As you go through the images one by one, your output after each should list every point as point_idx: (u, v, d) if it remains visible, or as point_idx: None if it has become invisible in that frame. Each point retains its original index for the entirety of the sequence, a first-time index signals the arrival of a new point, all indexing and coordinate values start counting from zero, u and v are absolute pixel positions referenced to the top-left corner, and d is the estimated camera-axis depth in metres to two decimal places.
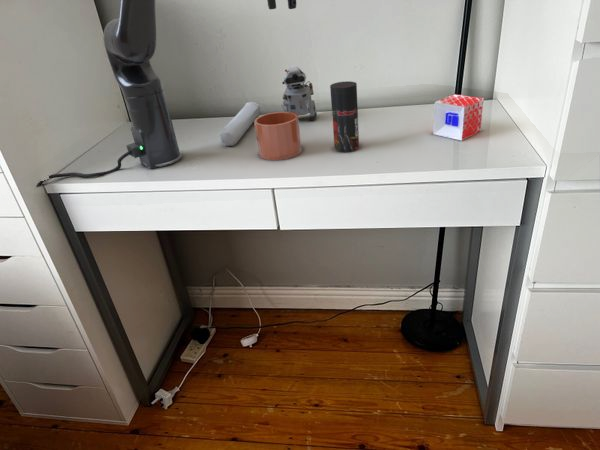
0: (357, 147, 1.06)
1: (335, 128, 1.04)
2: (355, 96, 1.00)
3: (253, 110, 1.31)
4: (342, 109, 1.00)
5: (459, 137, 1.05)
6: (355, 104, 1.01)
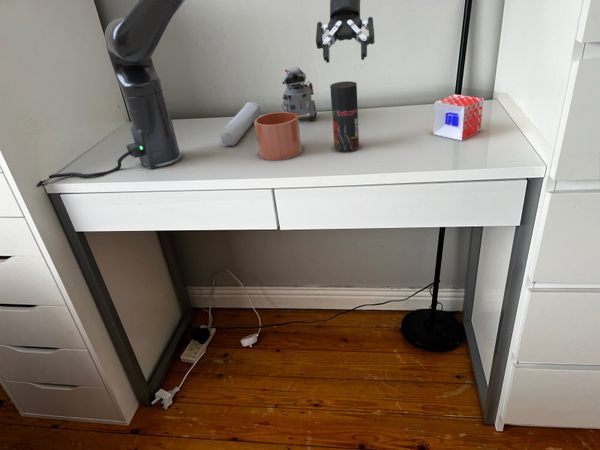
0: (357, 147, 1.06)
1: (335, 128, 1.04)
2: (355, 96, 1.00)
3: (253, 110, 1.31)
4: (342, 109, 1.00)
5: (459, 137, 1.05)
6: (355, 104, 1.01)
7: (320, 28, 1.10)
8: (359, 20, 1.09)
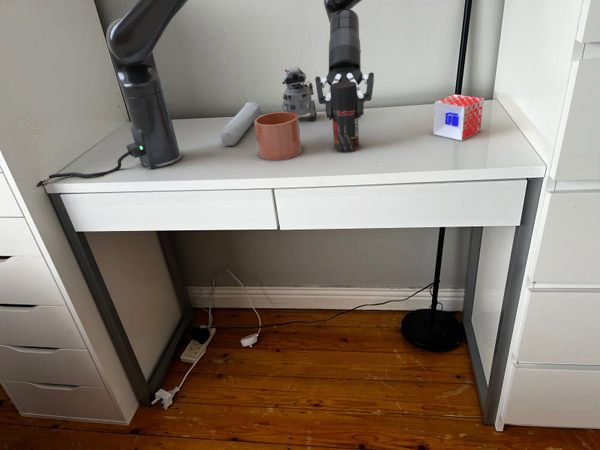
0: (357, 147, 1.06)
1: (335, 128, 1.04)
2: (355, 96, 1.00)
3: (253, 110, 1.31)
4: (342, 109, 1.00)
5: (459, 137, 1.05)
6: (355, 104, 1.01)
7: (319, 83, 1.04)
8: (359, 73, 1.03)
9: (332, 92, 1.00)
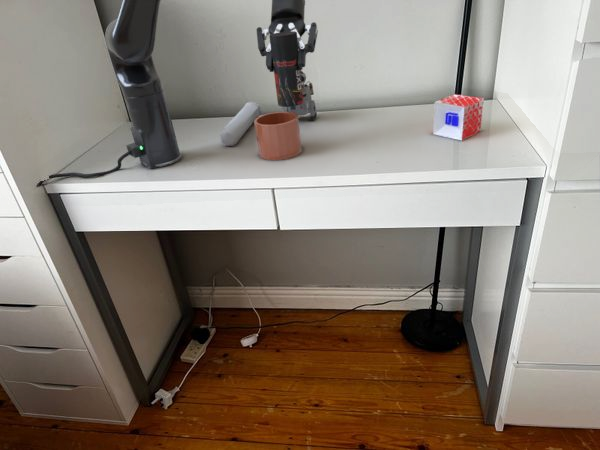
0: (300, 102, 1.02)
1: (276, 81, 1.00)
2: (295, 45, 0.96)
3: (253, 110, 1.31)
4: (281, 59, 0.96)
5: (459, 137, 1.05)
6: (295, 54, 0.97)
7: (261, 34, 1.00)
8: (302, 24, 0.99)
9: (271, 41, 0.96)
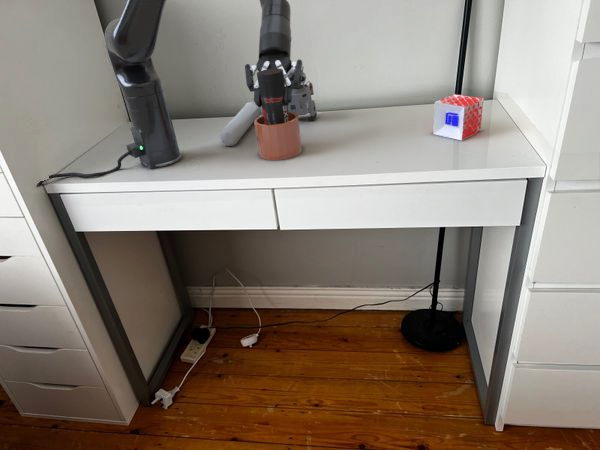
0: None
1: (264, 115, 1.04)
2: (281, 83, 1.00)
3: (253, 110, 1.31)
4: (269, 96, 1.01)
5: (459, 137, 1.05)
6: (282, 91, 1.01)
7: (249, 70, 1.05)
8: (288, 61, 1.03)
9: (258, 79, 1.00)
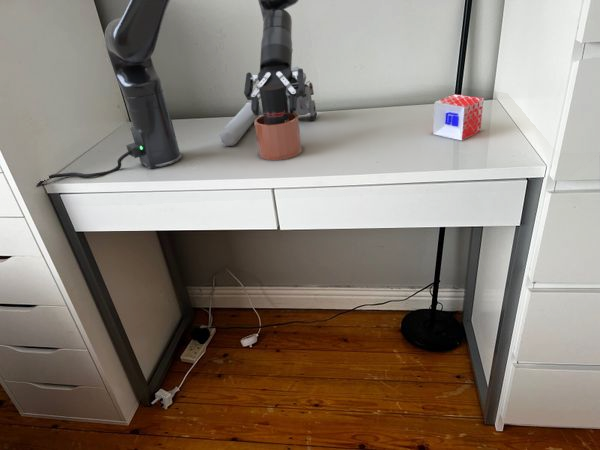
0: None
1: None
2: (283, 98, 1.02)
3: None
4: (271, 111, 1.02)
5: (459, 137, 1.05)
6: (284, 106, 1.03)
7: (249, 79, 1.06)
8: (289, 72, 1.05)
9: (261, 94, 1.02)
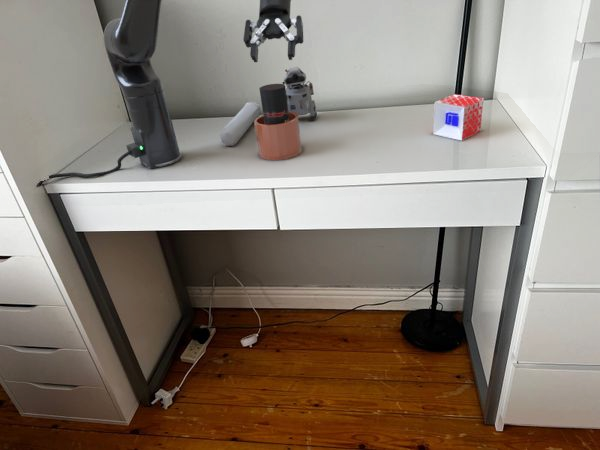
0: None
1: None
2: (283, 98, 1.02)
3: (253, 110, 1.31)
4: (271, 111, 1.02)
5: (459, 137, 1.05)
6: (284, 106, 1.03)
7: (248, 26, 1.08)
8: (287, 18, 1.07)
9: (261, 94, 1.02)
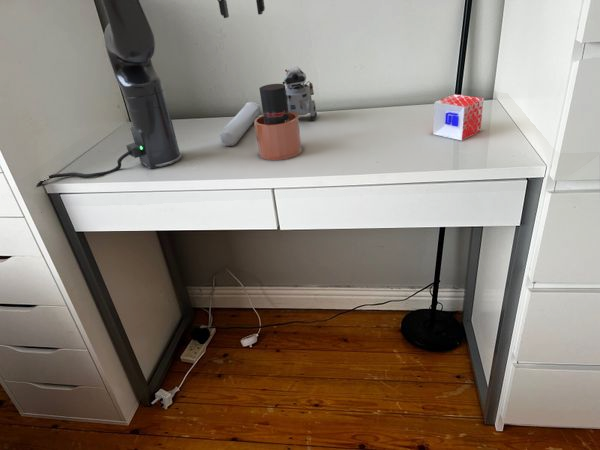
0: None
1: None
2: (283, 98, 1.02)
3: (253, 110, 1.31)
4: (271, 111, 1.02)
5: (459, 137, 1.05)
6: (284, 106, 1.03)
7: None
8: None
9: (261, 94, 1.02)
